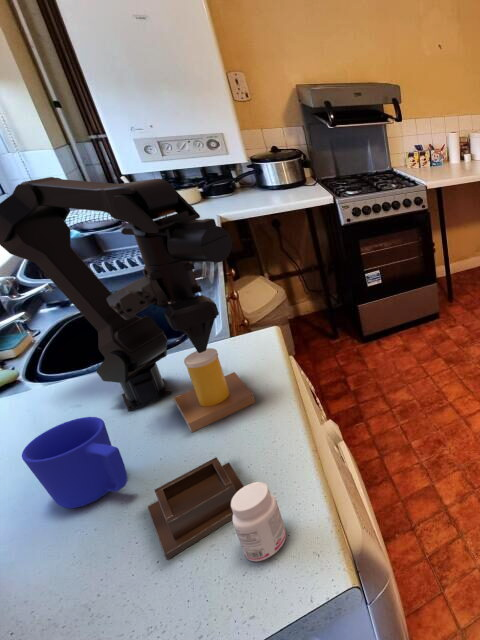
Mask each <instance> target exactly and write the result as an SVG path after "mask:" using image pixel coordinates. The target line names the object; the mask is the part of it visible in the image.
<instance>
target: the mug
mask: <svg viewBox="0 0 480 640" xmlns="http://www.w3.org/2000/svg"><path fill="white" fill-rule="evenodd" d="M21 458H22V461H23V462H24V463H25V465H26V466H27V467H28V469H29V470H30V471H31V473H32V474H33V475H34V476H35V478H36V479H37V480H38V482H39V483H40V484H41V486H42V487H43V488H44V489H45V491H46V492H47V493H48V495H49V496H50V497H51V499H52V500H53V501H54V502H55V504H57V506H59V507H61V508H65V509H75V508H79V507H80V508H81V507H83V506H86V505H89V504H92V503H93V502H96V501H97V500H99V499H100V498H102V497H104V496H105V495H106V494H107V493H109V492H118V491H121V489H123V488H124V487H125V486H126V485H127V483H128V473H127V470H126V466H125V463H124V460H123V457H122V454H121V452H120V449H119V448H118V447H117V446H115V445H112V443H111V440H110V436H109V433H108V430H107V427H106V424H105V421H104V420H103V419H102V418H101V417H97V416H86V417H84V416H83V417H79V418H74V419H71V420H69V421H68V420H67V421H65V422H62V423H60V424H58V425H55V426H53V427H51V428H49V429H47V430H46V431H44V432H42V433H41V434H39V435H37V436H35V438H34V439H32V440H31V441H30V442H29V443H28V444H27V445H26V446H25V447H24V448H23V451H22V452H21Z"/></svg>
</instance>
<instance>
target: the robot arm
mask: <svg viewBox="0 0 480 640" xmlns="http://www.w3.org/2000/svg"><path fill="white" fill-rule="evenodd" d="M71 209H74V210H82V211H83V210H84V211H94V212H103V213H107V214H108V215H109V216H110V217H111V218H112V219H114V220H118V221H121V222H125V223H127V224H126V225H125V226H124V227H123V228H122V229H121V231H120V232H121V234H122V235H124V236H134V238H135V241H136V244H137V247H138V249H139V252H140V255H141V258H142V261H143V264H144V266H143V269H142V273H143V275H144V276H143V277H141V278H139V279H137V280H135V281H132V282H130V283H129V284H127V285H125V286H124V287H122V288H120V289H119V290H117V291H115V292H113V293H112V292H111V291H110V290H109V289H108V287H107V286H106V285H105V284H104V283H103V281H102V280H101V279H100V278H99V277H98V276H97V275H96V274H95V273H94V271H93V270H92V269H91V268H90V267H89V266H88V265H87V264H86V262H85V261H84V260H83V259H82V258H81V257H80V255H79V254H78V253H77V252H76V251H75V250H74V249H73V248H72V246H71V245H72V242H71V239H72V237H71V236H72V235H71V234H72V233H71V228H70V227H69V225H68V224H67V222H66V219H67V218H68V216H69V214H70V213H71ZM200 218H201V214H200V213H198V212H197V210H196V209H195V207H193V206H192V205H191V204H190V203H189V202H188V201H187V200H186V199H185V198H184V197H183V196H182V195H181V194H180V193H179V192H178V191H177V190H176V189H175V188H174V187H173V186H172V185H170V182H169V181H167V180H165V179H163V178H150V179H142V180H137V181H129V182H123V183H110V182H98V181H88V180H87V181H86V180H76V179H65V178H61V177H54V176H48V177H42V178H36V179H31V180H24V181H22V182H20V183H19V184H17V185H16V186H15V187H14V190H13V192H12V193H11V194H10V195H9V196H7V197H6V198H5V199H3V200H2V201H1V202H0V246H1V247H2V248H3V249H4V250H5V251H6V252H7V253H9V254H10V255H13V256H15V257H18V258H20V259H23V260H25V261H29V262H32V263H34V264H36V266H38V268H40V270H41V272H43V273H44V274H45V275H46V276H47V277H48V279H49V280H50V281H51V282H52V283H53V284H54V286H56V287H57V289H59V291H60V292H61V293H62V294H63V295H64V296H65V297H66V298H67V299H68V300H69V301H70V303H72V305H73V306H74V307H75V308H76V309H77V310H78V312H80V314H81V315H83V317H84V318H85V319H86V320H87V321H88V322H89V324H91V326H92V327H93V328H94V329H95V330H96V331H97V341H98V342H97V343H98V350H99V352H100V354H101V355H102V357H104V359H103V360H102V362H101V364H100V365H99V367H98V369H97V370H96V374H97V376H99V378H100V379H101V380H102V382H107V383H117V384H120V387H121V389H122V392H123V393H122V394H121V397H122V399H123V402H124V404H125V406H126V409H127V411H133V410H136V409H138V408H140V407H143V406H145V405H148V404H150V403H152V402H155V401H157V400H160V399H162V398H164V397H167V396H170V395H171V394H172V391H171V389H170V387H169V385H168V383H167V381H166V380H165V378H163V377H162V375H161V372H160V370H159V367H158V364H157V362H159V361H160V360H162V359H164V358H166V357H167V355H168V353H167V352H168V338H167V335H166V334H165V330H164V329H162V328H161V327H159V325H158V324H157V323H156V322H155V320H154V319H153V318H152V317H151V316H149V315H145V316H143V317H141V316H137V314H138V313H141V312H142V311H143V310H145V309H147V308H148V307H150V306H152V305H155V306H157V307H160V308H162V309H164V311H163V313H164V317H165V319H166V321H167V323H168V325H169V326H170V327H171V330H173V331H176V332H178V331H179V332H182V334H183V335H186V336H187V338H188V339H189V341H190V343H191V344H192V345H193V347H194V349H195V351H197V352H198V353H201V352H204V351H206V349H207V348H208V344H209V340H210V336H211V333H212V329H213V326H214V323H215V320H216V319H217V318H218V316H219V315H220V313H219V309H218V307H217V303H216V302H215V301H214V300H212V299H211V297H208V296H206V295H204V294H200V295H197V296H196V294H198V293H202V292H203V289H202V286H201V285H200V284H199V283H198V282H197V279H196V275H195V272H194V270H195V269H196V267H195V264H194V262H195V263H215V264H217V263H222V262H224V261H226V260H227V259H228V257H230V254H231V252H232V249H233V239H232V237H231V235H230V234H229V233H228V231H227V230H226V229H225V228H224V227H222V226H219V225H217V223H216V220H215V218H204V219H203V218H202V219H200Z"/></svg>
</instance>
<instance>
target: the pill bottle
mask: <svg viewBox="0 0 480 640" xmlns="http://www.w3.org/2000/svg"><path fill="white" fill-rule="evenodd" d="M243 486H244V487H243V488H241V489H240V490H239V491H238V492H237V493H236V494H235V495H234V496H233V498H232V500H231V508H232V511H233V519H232V520H231V521H232V525H233V527H234V531H235V533H236V535H237V538H238V541H239V544H240V545H241V549H242V552H243V554H244V556H245V558H246V559H248V561H251V562H261V561H264V560H267V559H268V558H271V557H272V556H274V555H275V554H276V553H277V552H278V551H279V550H280V549H281V548H282V546H283V545H284V543H285V541H286V537H287V531H286V527H285V524H284V520H283V517H282V514H281V510H280V507H279V505H278V501H277V499H276V497H275V496H274V495H273V494H272V493H271V491H270V489H269V487H268V484H266V483H265V482H262V481H256V482H255V481H254V482H251V483H248V484H246V485H243Z"/></svg>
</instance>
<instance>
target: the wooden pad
mask: <svg viewBox="0 0 480 640" xmlns="http://www.w3.org/2000/svg"><path fill="white" fill-rule="evenodd" d="M224 377H225V380H226V383H227V387H228V390H229V396H228V397H227V398H226V399H225V400H224V401H222V402H221V403H219V404H216V405H213V406H201V405H200V403H199V400H198V398H197V395H196V392H195V389H194V388H193V389H190V390H188V391H186V392H183V393H181V394H179V395H176V396H174V397H173V399H174V401H175V405H176V407H177V409H178V410H179V413H180V414H181V416H182V418H183V419H184V421H185V423H186V425H187V427H188V428H189V430H190V431H191V433H194V432H197V431H198V430H200V429H203V428H205V427H207V426H209V425H211V424H213V423H215V422H218V421H219V420H221V419H224V418H226V417H228V416H230V415H232V414H235V413H236V412H238V411H240V410H242V409H244V408H245V409H246V408H247V407H249V406H250V405H251V406H252V405H253V404H255V403H256V400H255V397H254V393H253V392H252V390H250V388H248V386H247V385H246V384H245V383H244V382H243V380H242V379H241V378H240V376H239V375H238V374H237V373H236V372H235V371H233V372H231V373H229V374H226V375H224Z"/></svg>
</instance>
